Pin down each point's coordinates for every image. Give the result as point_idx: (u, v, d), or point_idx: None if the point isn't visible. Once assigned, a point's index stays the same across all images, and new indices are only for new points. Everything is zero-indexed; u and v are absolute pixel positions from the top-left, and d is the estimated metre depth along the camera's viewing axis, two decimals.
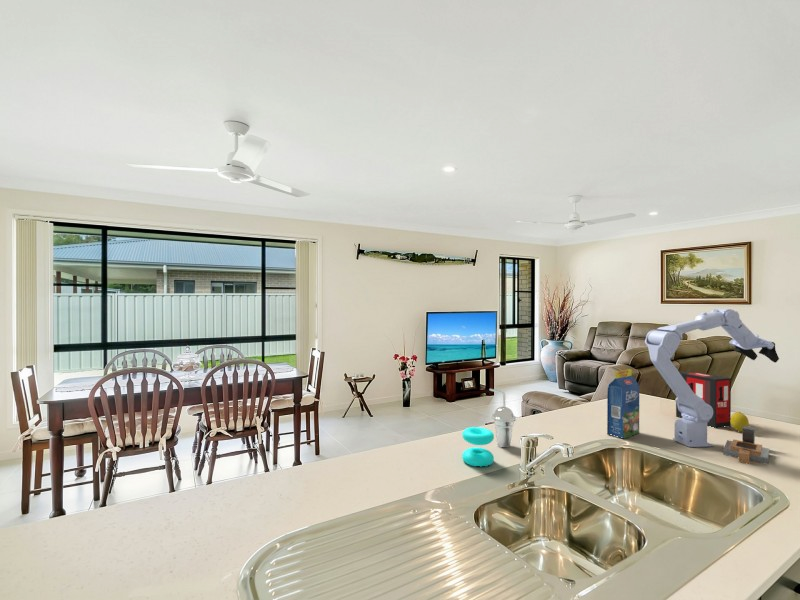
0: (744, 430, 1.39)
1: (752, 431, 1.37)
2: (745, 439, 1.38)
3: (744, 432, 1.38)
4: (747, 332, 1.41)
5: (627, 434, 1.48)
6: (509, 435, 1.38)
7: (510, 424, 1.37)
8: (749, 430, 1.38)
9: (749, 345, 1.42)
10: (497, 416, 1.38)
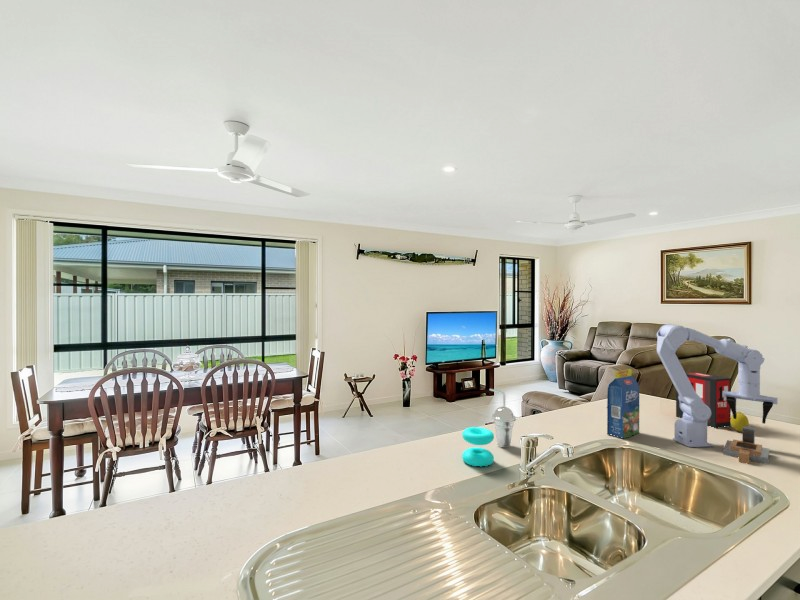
0: (744, 430, 1.39)
1: (752, 431, 1.37)
2: (745, 439, 1.38)
3: (745, 432, 1.38)
4: (755, 381, 1.36)
5: (627, 434, 1.48)
6: (509, 435, 1.38)
7: (510, 424, 1.37)
8: (749, 430, 1.38)
9: (755, 394, 1.36)
10: (497, 416, 1.38)
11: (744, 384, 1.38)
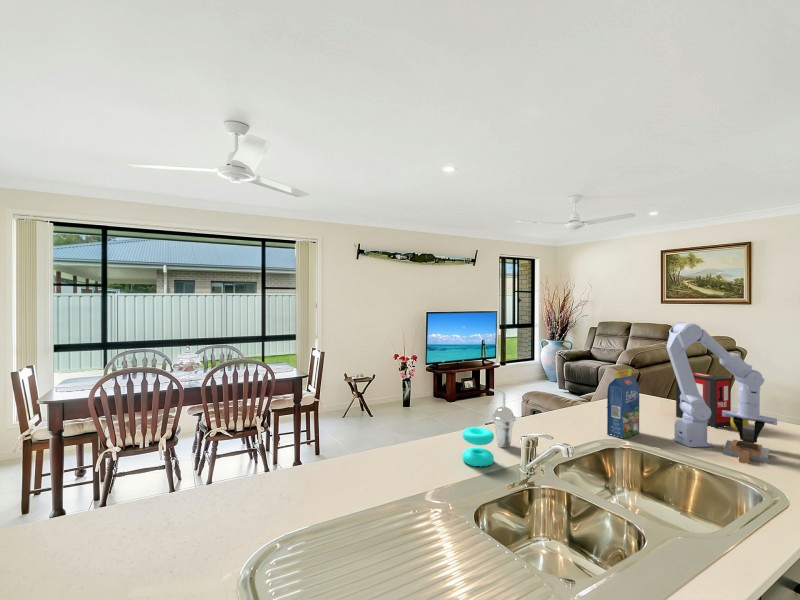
0: (744, 430, 1.39)
1: (752, 431, 1.37)
2: (745, 439, 1.38)
3: (745, 432, 1.38)
4: (755, 402, 1.36)
5: (627, 434, 1.48)
6: (509, 435, 1.38)
7: (510, 424, 1.37)
8: (749, 430, 1.38)
9: (755, 415, 1.36)
10: (497, 416, 1.38)
11: (744, 404, 1.38)
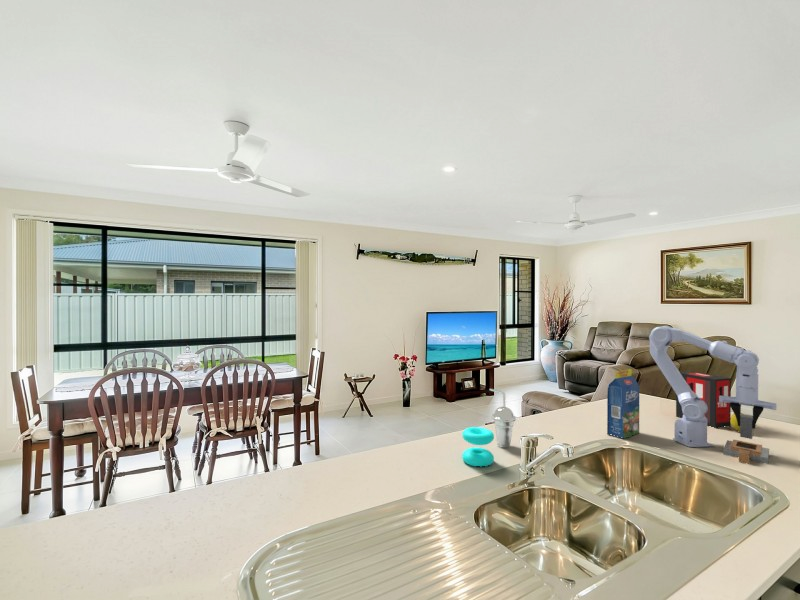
0: (742, 418, 1.32)
1: (750, 419, 1.31)
2: (743, 428, 1.32)
3: (742, 420, 1.32)
4: (747, 386, 1.31)
5: (627, 434, 1.48)
6: (509, 435, 1.38)
7: (510, 424, 1.37)
8: (747, 418, 1.31)
9: (753, 399, 1.30)
10: (497, 416, 1.38)
11: (742, 389, 1.32)
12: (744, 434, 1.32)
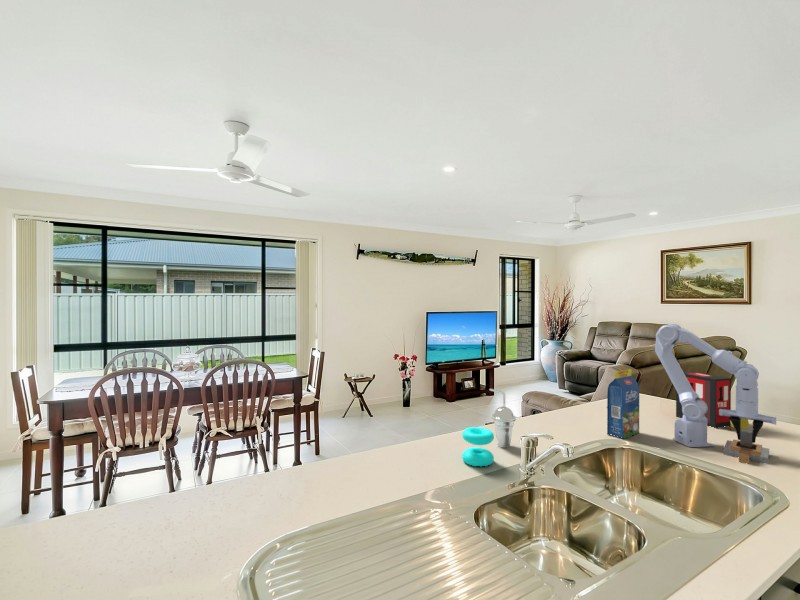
0: (742, 433, 1.32)
1: (750, 434, 1.31)
2: (743, 443, 1.32)
3: (742, 435, 1.32)
4: (747, 400, 1.31)
5: (627, 434, 1.48)
6: (509, 435, 1.38)
7: (510, 424, 1.37)
8: (747, 433, 1.31)
9: (753, 414, 1.30)
10: (497, 416, 1.38)
11: (742, 402, 1.32)
12: None
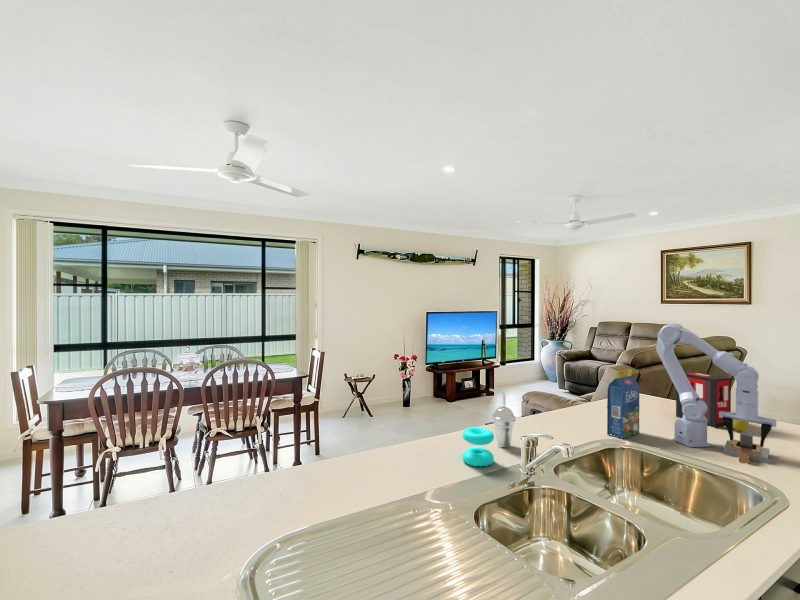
0: (742, 436, 1.32)
1: (750, 437, 1.31)
2: (743, 446, 1.32)
3: (742, 438, 1.32)
4: (747, 402, 1.31)
5: (627, 434, 1.48)
6: (509, 435, 1.38)
7: (510, 424, 1.37)
8: (747, 436, 1.31)
9: (753, 416, 1.30)
10: (497, 416, 1.38)
11: (742, 405, 1.32)
12: None
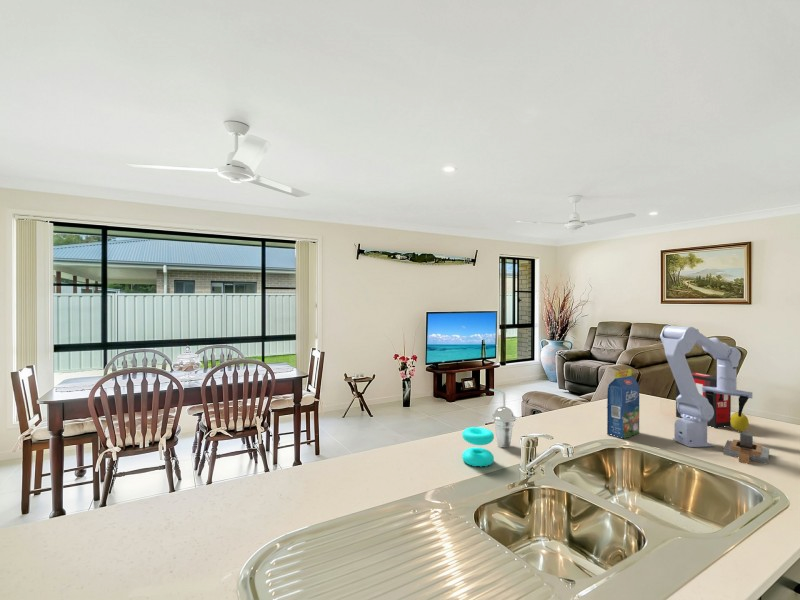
0: (742, 436, 1.32)
1: (750, 437, 1.31)
2: (743, 446, 1.32)
3: (742, 438, 1.32)
4: (735, 377, 1.45)
5: (627, 434, 1.48)
6: (509, 435, 1.38)
7: (510, 424, 1.37)
8: (747, 436, 1.31)
9: (732, 389, 1.45)
10: (497, 416, 1.38)
11: (722, 379, 1.47)
12: None
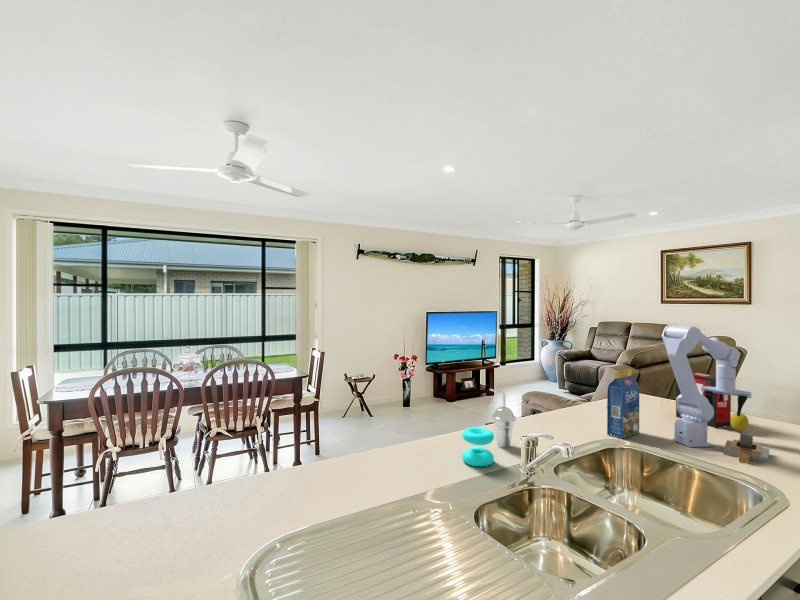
0: (742, 436, 1.32)
1: (750, 437, 1.31)
2: (743, 446, 1.32)
3: (742, 438, 1.32)
4: (734, 377, 1.46)
5: (627, 434, 1.48)
6: (509, 435, 1.38)
7: (510, 424, 1.37)
8: (747, 436, 1.31)
9: (731, 389, 1.45)
10: (497, 416, 1.38)
11: (721, 379, 1.47)
12: None
